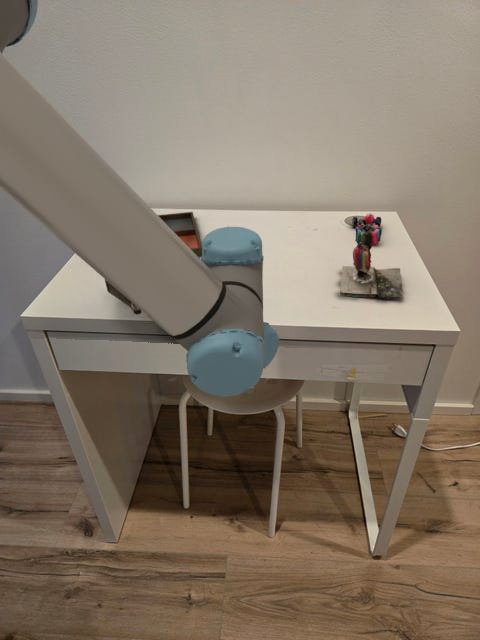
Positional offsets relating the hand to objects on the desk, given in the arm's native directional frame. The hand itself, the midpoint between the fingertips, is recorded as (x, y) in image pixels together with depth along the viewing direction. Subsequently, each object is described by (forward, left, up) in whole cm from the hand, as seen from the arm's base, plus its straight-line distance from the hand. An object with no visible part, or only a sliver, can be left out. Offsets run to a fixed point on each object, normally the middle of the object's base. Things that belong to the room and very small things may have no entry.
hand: (117, 256), depth 81 cm
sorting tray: (+8, +19, -7) cm, 21 cm away
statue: (+47, -10, -7) cm, 48 cm away
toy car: (+56, +10, -7) cm, 57 cm away
